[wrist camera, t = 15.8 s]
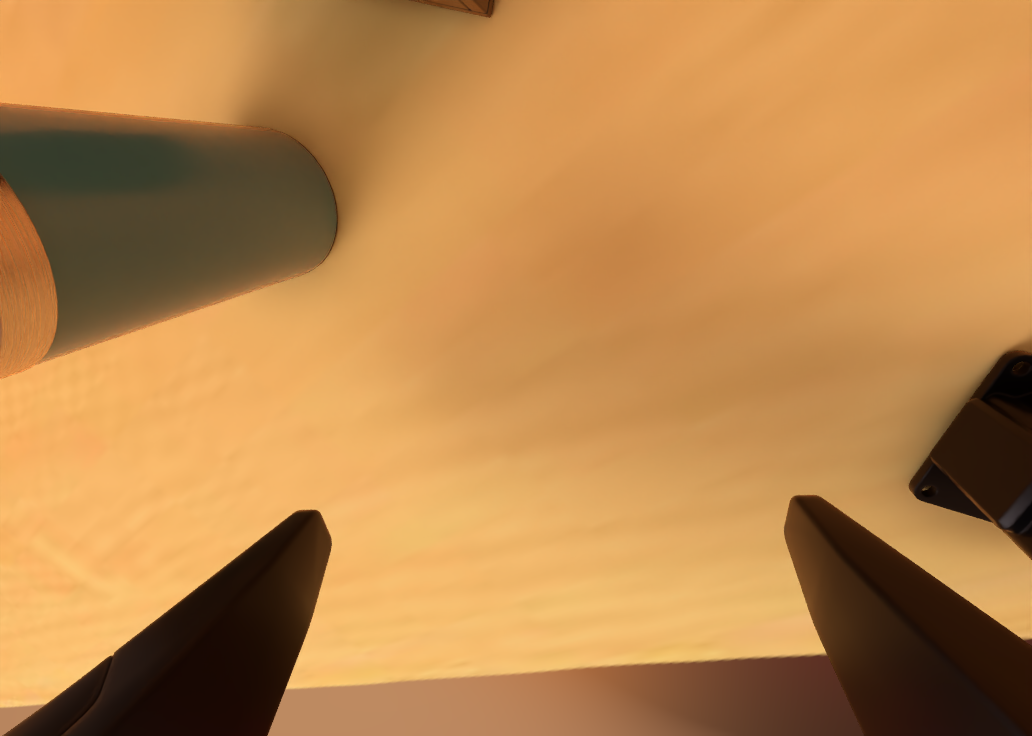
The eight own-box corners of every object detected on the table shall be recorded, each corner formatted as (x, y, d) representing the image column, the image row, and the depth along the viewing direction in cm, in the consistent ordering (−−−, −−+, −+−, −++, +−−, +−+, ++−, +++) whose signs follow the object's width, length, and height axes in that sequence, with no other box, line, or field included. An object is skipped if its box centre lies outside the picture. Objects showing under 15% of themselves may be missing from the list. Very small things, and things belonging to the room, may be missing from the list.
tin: (343, 146, 19) (-54, 123, 8) (334, 293, 22) (26, 428, 11) (205, 110, 20) (-333, 44, 9) (213, 257, 23) (-193, 348, 12)
